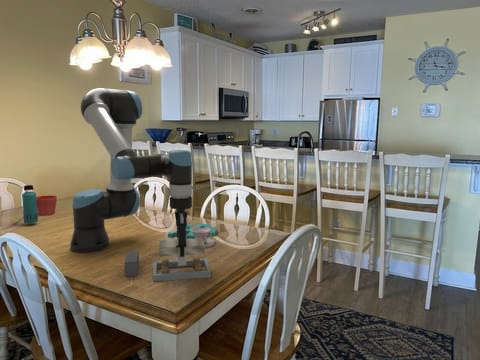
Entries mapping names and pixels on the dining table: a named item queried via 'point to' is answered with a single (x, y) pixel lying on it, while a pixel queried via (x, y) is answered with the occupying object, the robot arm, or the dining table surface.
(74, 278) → the dining table surface
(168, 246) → the grey flat block
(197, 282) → the dining table surface
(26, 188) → the beverage bottle
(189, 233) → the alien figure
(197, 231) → the teacup
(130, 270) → the block
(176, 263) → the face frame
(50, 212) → the flower pot
